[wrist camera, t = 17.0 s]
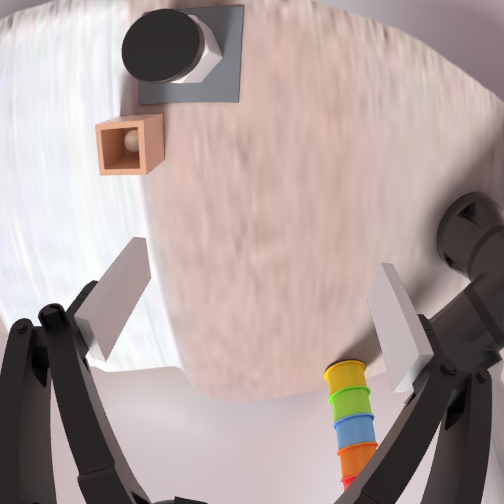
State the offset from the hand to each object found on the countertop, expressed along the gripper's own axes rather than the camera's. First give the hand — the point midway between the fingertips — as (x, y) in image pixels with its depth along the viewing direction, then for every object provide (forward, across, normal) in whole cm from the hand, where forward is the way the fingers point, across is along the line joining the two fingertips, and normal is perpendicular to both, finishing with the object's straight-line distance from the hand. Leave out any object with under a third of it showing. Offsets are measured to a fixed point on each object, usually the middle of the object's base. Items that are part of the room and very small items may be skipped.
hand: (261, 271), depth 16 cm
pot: (+27, +19, -2) cm, 33 cm away
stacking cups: (+29, -23, +47) cm, 60 cm away
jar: (+27, +12, -14) cm, 32 cm away
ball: (+25, +19, -2) cm, 31 cm away
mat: (+27, +12, -14) cm, 33 cm away
